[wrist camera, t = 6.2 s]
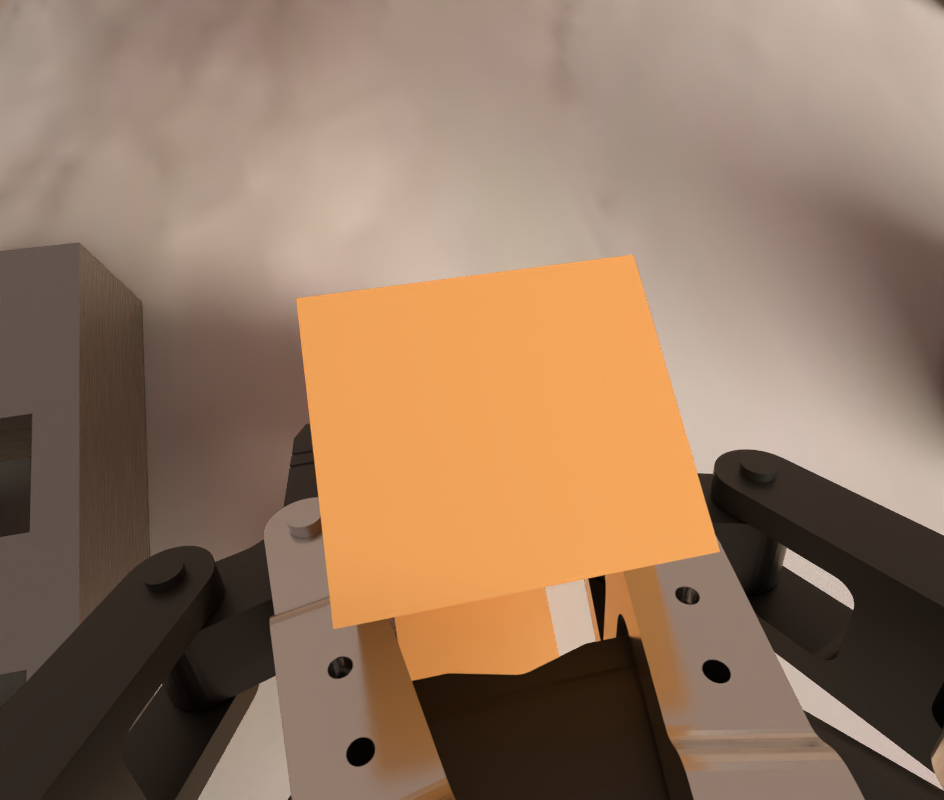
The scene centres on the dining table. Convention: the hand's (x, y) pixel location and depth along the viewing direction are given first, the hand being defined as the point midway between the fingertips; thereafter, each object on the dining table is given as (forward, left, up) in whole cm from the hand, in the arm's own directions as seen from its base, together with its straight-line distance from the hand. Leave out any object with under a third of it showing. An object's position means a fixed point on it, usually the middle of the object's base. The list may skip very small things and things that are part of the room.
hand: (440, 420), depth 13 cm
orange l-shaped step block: (+1, +1, -7) cm, 8 cm away
